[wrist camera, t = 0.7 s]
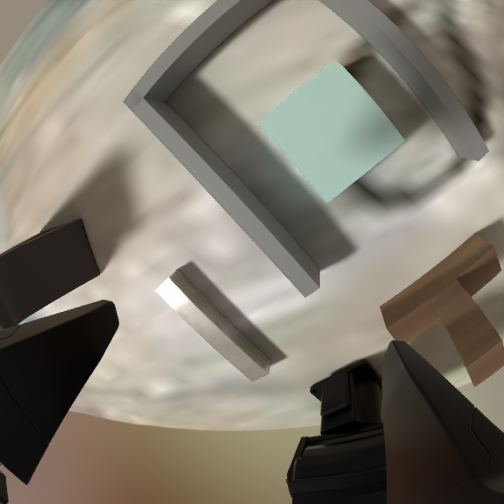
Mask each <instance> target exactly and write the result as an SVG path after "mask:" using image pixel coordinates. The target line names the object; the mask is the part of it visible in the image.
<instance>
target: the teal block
mask: <svg viewBox="0 0 504 504" xmlns="http://www.w3.org/2000/svg"><path fill="white" fill-rule="evenodd" d="M257 124H258V126H259V127H260V128H261V129H262V130H263V131H264V132H265V133H266V134H267V135H268V136H269V137H270V138H271V139H272V140H273V142H274V143H275V144H276V145H277V146H278V147H279V148H280V149H281V150H282V151H283V153H284V154H285V155H286V156H287V157H288V158H289V159H290V160H291V161H292V163H293V164H294V165H295V166H296V167H297V168H298V170H299V171H300V172H301V173H302V174H303V175H304V176H305V178H306V179H307V180H308V181H309V182H310V184H311V185H312V186H313V187H314V188H315V190H316V191H317V192H318V193H319V194H320V196H321V197H322V198H323V199H324V201H325V202H326V203H328V202H329V201H330V200H332V199H333V198H334V197H336V196H337V195H338V194H339V193H341V192H342V191H343V190H344V189H346V188H347V187H348V186H350V185H351V184H352V183H353V182H355V181H356V180H357V179H358V178H360V177H361V176H362V175H364V174H365V173H366V172H367V171H369V170H370V169H371V168H372V167H374V166H375V165H376V164H377V163H379V162H380V161H381V160H382V159H384V158H385V157H386V156H388V155H389V154H390V153H391V152H393V151H394V150H395V149H396V148H398V147H399V146H400V145H401V144H403V143H404V142H405V140H404V139H403V137H402V136H401V134H400V133H399V132H398V130H397V129H396V128H395V126H394V125H393V124H392V122H391V121H390V120H389V119H388V117H387V116H386V115H385V114H384V112H383V111H382V110H381V109H380V107H379V106H378V105H377V104H376V103H375V101H374V100H373V99H372V98H371V97H370V95H369V94H368V93H367V92H366V91H365V90H364V89H363V88H362V86H361V85H360V84H359V83H358V82H357V81H356V80H355V79H354V78H353V77H352V76H351V74H350V73H349V72H348V71H347V70H346V69H345V68H344V67H343V66H342V65H341V64H340V63H339V62H338V61H337V60H336V59H335V60H333V61H332V62H331V63H329V64H328V65H327V66H325V67H324V68H323V69H322V70H320V71H319V72H318V73H316V74H315V75H314V76H312V77H311V78H310V79H309V80H307V81H306V82H305V83H304V84H302V85H301V86H300V87H299V88H297V89H296V90H295V91H294V92H293V93H291V94H290V95H289V96H288V97H287V98H285V99H284V100H283V101H282V102H281V103H279V104H278V105H277V106H276V107H275V108H274V109H272V110H271V111H270V112H269V113H268V114H267V115H266V116H264V117H263V118H262V119H261V120H260V121H259V122H258V123H257Z"/></svg>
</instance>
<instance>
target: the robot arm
mask: <svg viewBox="0 0 504 504" xmlns="http://www.w3.org/2000/svg"><path fill="white" fill-rule="evenodd" d="M118 327H119V319H118V315H117V311H116V307H115V304H114V303H113V302H112V301H108V300H100V301H97V302H94V303H90V304H87V305H84V306H80V307H77V308H74V309H70V310H67V311H64V312H60V313H57V314H54V315H50V316H47V317H44V318H40V319H37V320H34V321H30V322H27V323H24V324H21V325H17V326H14V327H10V328H7V329H3V330H0V469H1V468H2V467H3V466H5V467H6V468H7V469H8V470H9V471H10V472H12V473H13V474H14V475H15V476H16V477H17V478H18V479H20V480H21V481H22V482H23V483H25V484H26V485H27V484H28V483H29V481H30V480H31V478H32V475H33V474H34V472H35V469H36V468H37V466H38V464H39V462H40V460H41V458H42V457H43V455H44V453H45V451H46V449H47V447H48V446H49V443H50V442H51V440H52V438H53V436H54V435H55V433H56V431H57V429H58V428H59V426H60V424H61V422H62V421H63V419H64V417H65V416H66V414H67V412H68V411H69V409H70V408H71V406H72V404H73V403H74V401H75V399H76V398H77V396H78V395H79V393H80V391H81V390H82V388H83V387H84V385H85V383H86V382H87V380H88V379H89V377H90V376H91V374H92V373H93V371H94V370H95V368H96V367H97V365H98V363H99V362H100V360H101V359H102V357H103V355H104V353H105V351H106V349H107V347H108V346H109V344H110V342H111V340H112V338H113V336H114V335H115V333H116V331H117V329H118ZM363 365H365V366H363ZM310 393H311V394H313V395H314V396H315V397H316V398H317V399H318V400H320V401H321V412H320V415H321V431H320V433H321V435H319V436H314V437H301V440H300V442H299V445H298V447H297V450H296V452H295V455H294V458H293V460H292V463H291V465H290V468H289V470H288V473H287V479H286V482H287V484H288V488H289V492H290V495H291V497H292V500H293V501H292V504H504V432H502V431H501V430H500V429H499V428H498V427H497V426H495V425H494V424H493V423H492V422H491V421H490V420H489V419H488V418H487V417H486V416H484V414H483V413H481V412H480V411H479V410H478V409H477V408H476V407H475V408H474V405H473V404H472V403H471V402H470V401H469V400H468V399H467V398H466V397H465V396H464V395H463V394H462V393H461V392H460V391H458V390H457V389H456V388H455V387H454V386H453V385H452V384H451V383H450V382H449V381H448V380H447V379H446V378H445V377H444V376H442V375H441V374H440V373H439V372H438V371H437V370H436V369H435V368H434V367H433V366H432V365H431V364H429V363H428V362H427V361H426V360H425V359H424V358H423V357H422V356H421V355H420V354H418V353H417V352H416V351H415V350H414V349H413V348H412V347H411V346H410V345H408V344H407V343H406V342H405V341H403V340H392V341H391V342H390V343H389V346H388V349H387V352H386V354H385V357H384V360H383V364H382V377H381V375H380V374H379V373H378V372H377V371H376V370H375V369H374V367H373V366H372V365H371V364H370V363H369V362H368V361H366V360H363V361H361V362H359V363H357V364H355V365H353V366H351V367H349V368H347V369H346V370H344V371H342V372H340V373H338V374H336V375H334V376H332V377H330V378H328V379H326V380H324V381H322V382H319V383H317V384H315V385H313V386H311V388H310ZM7 503H8V494H7V486H6V476H5V475H4V474H3V473H2V472H1V471H0V504H7Z"/></svg>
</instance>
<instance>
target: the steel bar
mask: <svg viewBox="0 0 504 504" xmlns="http://www.w3.org/2000/svg"><path fill="white" fill-rule="evenodd" d="M156 292H157V293H158V294H159V295H160V296H161V297H162V298H163V299H164V300H165V301H166V302H167V303H168V304H169V305H170V306H171V307H172V308H173V309H174V310H175V311H176V312H177V313H178V314H179V315H180V316H181V317H182V318H183V319H184V320H185V321H186V322H187V323H188V324H189V325H190V326H191V327H192V328H193V329H194V330H195V331H196V332H197V333H198V334H199V335H200V336H202V337H203V338H204V339H205V340H206V341H207V342H208V343H209V344H210V345H211V346H212V347H213V348H214V349H216V350H217V351H218V352H219V353H220V354H221V355H222V356H223V357H224V358H226V359H227V360H228V361H229V362H230V363H231V364H232V365H233V366H235V367H236V368H237V369H238V370H239V371H240V372H242V373H243V374H244V375H245V376H246V377H247V378H249V379H250V380H251V381H252V382H253V381H255V380H257V379H259V378H261V377H264V376H266V375H268V374H269V370H270V366H271V361H270V360H269V359H268V358H267V357H266V356H265V355H264V354H263V353H261V352H260V351H259V350H258V349H257V348H256V347H255V346H254V345H253V344H252V343H251V342H250V341H249V340H248V339H246V338H245V337H244V336H243V335H242V334H241V333H240V332H239V331H238V330H237V329H236V328H235V327H234V326H233V325H232V324H231V323H230V322H229V321H228V320H227V319H226V318H225V317H224V316H223V315H222V314H221V313H220V312H219V311H218V310H217V309H216V308H215V307H214V306H213V305H212V304H211V303H210V302H209V301H208V300H207V299H206V298H205V297H204V296H203V295H202V294H201V293H200V292H199V291H198V290H197V289H196V288H195V287H194V286H193V285H192V284H191V283H190V282H189V281H188V280H187V279H186V278H185V277H184V276H183V275H182V273H181V272H180V271H179V270H178V269H177V270H176V271H175V272H174V273H173V274H172V275H171V276H170V277H169V278H168V279H167V280H166V281H164V282H163V283H162V284H161V285H160V286H159V287H158V289H157V290H156Z"/></svg>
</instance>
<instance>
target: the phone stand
mask: <svg viewBox="0 0 504 504" xmlns="http://www.w3.org/2000/svg"><path fill="white" fill-rule="evenodd" d="M99 275H100V273H99V271H98V268H97V265H96V263H95V260H94V257H93V254H92V252H91V249H90V246H89V243H88V240H87V237H86V234H85V231H84V227H83V224H82V221H81V219H78V220H75V221H72V222H69V223H66V224H63V225H60V226H58V227H55V228H52V229H49V230H46V231H44V232H41V233H38V234H36V235H34V236H32V237H31V238H29V239H27V240H25V241H23V242H21V243H19V244H18V245H16V246H14V247H12V248H10V249H9V250H7V251H5V252H3V253H2V254H0V330H3V329H7V328H10V327H14V326H17V325H18V324H19V323H20V322H22V321H23V320H24V319H26V318H27V317H29V316H30V315H32V314H34V313H35V312H37V311H38V310H40V309H42V308H43V307H45V306H47V305H48V304H50V303H52V302H53V301H55V300H57V299H59V298H60V297H62V296H64V295H65V294H67V293H69V292H71V291H72V290H74V289H76V288H78V287H79V286H81V285H83V284H85V283H86V282H88V281H90V280H92V279H93V278H95V277H97V276H99Z"/></svg>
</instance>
